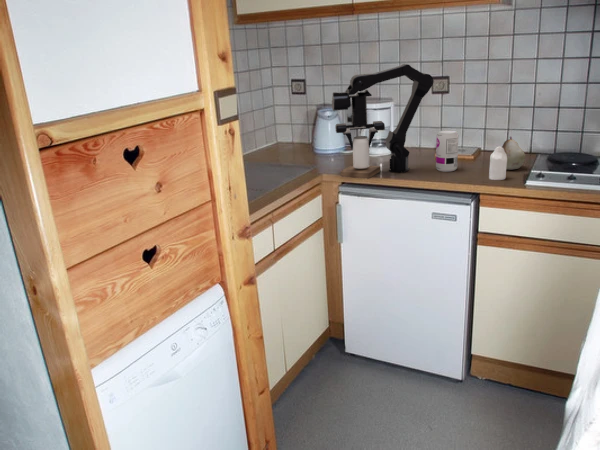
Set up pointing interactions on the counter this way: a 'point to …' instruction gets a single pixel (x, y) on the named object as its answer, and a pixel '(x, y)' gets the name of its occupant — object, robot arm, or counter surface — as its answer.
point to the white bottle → (498, 164)
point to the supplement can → (447, 150)
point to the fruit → (513, 154)
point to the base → (360, 172)
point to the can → (361, 152)
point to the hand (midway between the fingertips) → (360, 148)
